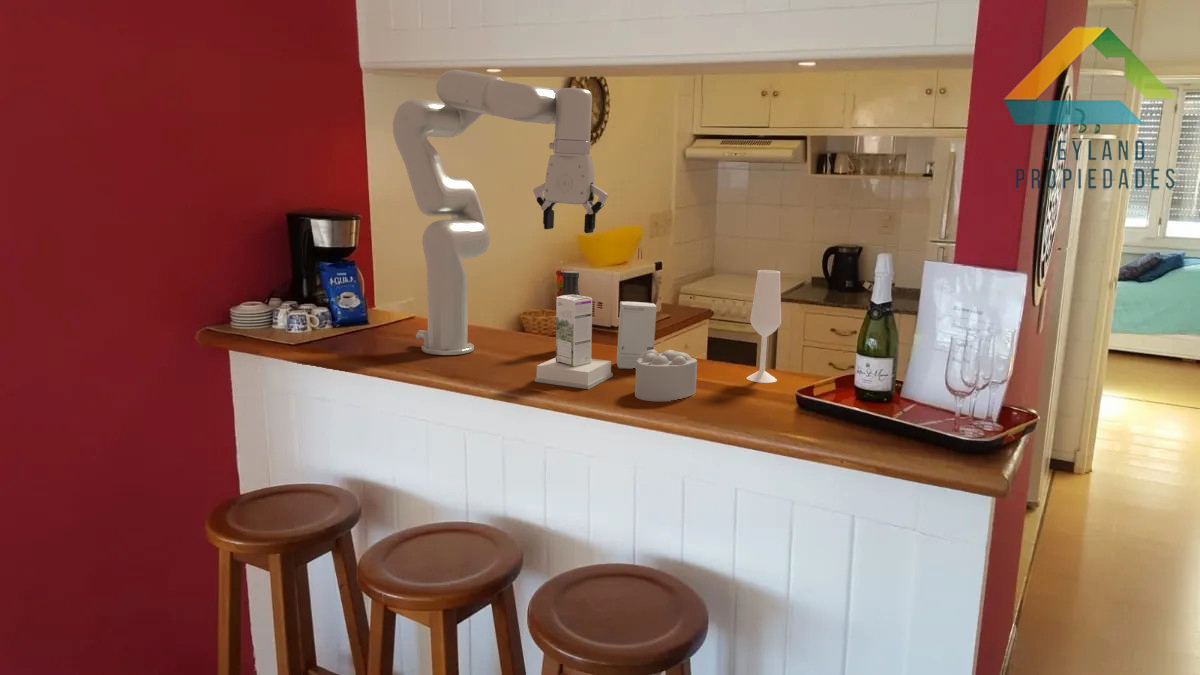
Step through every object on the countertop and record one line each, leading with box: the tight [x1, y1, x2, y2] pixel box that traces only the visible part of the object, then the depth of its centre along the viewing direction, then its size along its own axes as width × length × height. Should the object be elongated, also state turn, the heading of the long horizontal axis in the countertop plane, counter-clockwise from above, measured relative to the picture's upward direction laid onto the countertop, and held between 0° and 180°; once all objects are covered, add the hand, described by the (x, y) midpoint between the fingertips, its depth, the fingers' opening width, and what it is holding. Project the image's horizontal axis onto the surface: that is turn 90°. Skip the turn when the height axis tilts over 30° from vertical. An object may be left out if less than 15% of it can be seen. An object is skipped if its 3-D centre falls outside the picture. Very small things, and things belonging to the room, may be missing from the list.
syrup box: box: [555, 295, 593, 366], centre depth 185 cm, size 6×6×14 cm
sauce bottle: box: [558, 270, 581, 297], centre depth 212 cm, size 7×6×20 cm
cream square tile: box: [534, 357, 614, 390], centre depth 187 cm, size 13×13×4 cm
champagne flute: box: [746, 269, 782, 384], centre depth 189 cm, size 7×7×24 cm
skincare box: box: [616, 301, 657, 370], centre depth 199 cm, size 8×6×15 cm
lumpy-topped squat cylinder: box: [634, 349, 698, 402], centre depth 176 cm, size 10×13×9 cm
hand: (568, 230), depth 186 cm, fingers open, 9 cm apart
